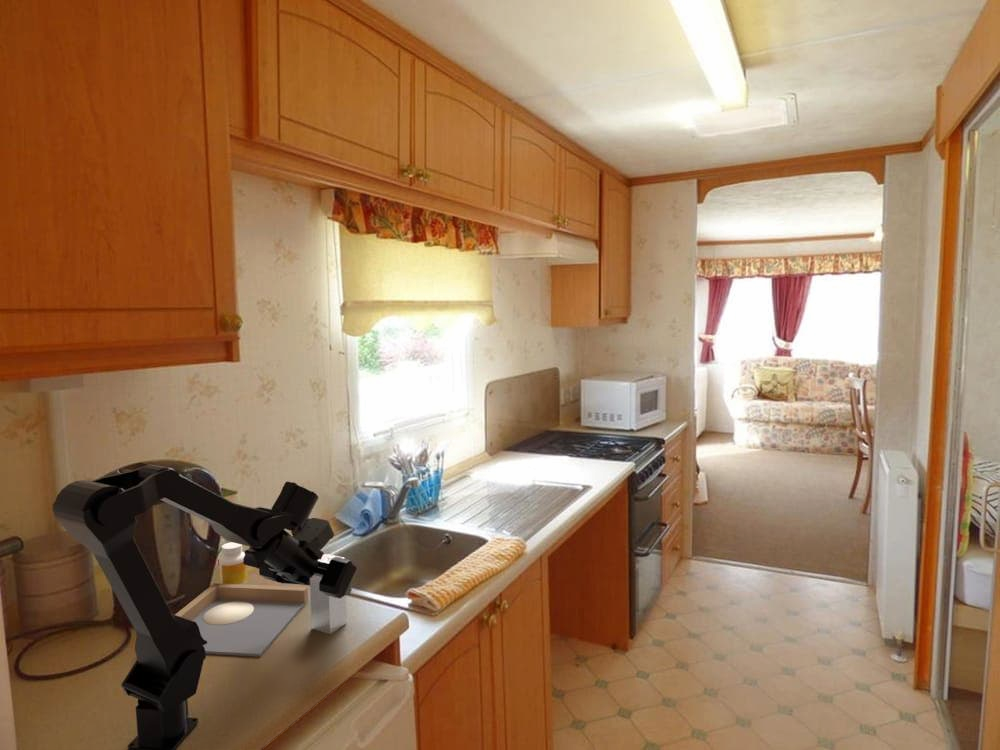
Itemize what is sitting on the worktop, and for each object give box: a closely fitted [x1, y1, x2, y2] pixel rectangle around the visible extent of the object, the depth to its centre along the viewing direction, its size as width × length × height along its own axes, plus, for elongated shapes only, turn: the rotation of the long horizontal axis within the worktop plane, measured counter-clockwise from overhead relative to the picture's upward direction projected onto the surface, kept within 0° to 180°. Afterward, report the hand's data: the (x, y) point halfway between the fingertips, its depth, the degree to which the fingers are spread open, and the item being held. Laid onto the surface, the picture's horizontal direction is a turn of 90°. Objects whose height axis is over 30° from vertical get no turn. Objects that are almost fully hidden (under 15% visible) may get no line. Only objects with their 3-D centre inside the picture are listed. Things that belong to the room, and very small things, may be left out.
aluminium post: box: [309, 553, 348, 635], centre depth 114 cm, size 4×4×13 cm
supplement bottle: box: [218, 542, 249, 585], centre depth 130 cm, size 5×5×10 cm
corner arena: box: [174, 582, 309, 658], centre depth 115 cm, size 20×20×3 cm
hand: (330, 587), depth 115 cm, fingers open, 9 cm apart
